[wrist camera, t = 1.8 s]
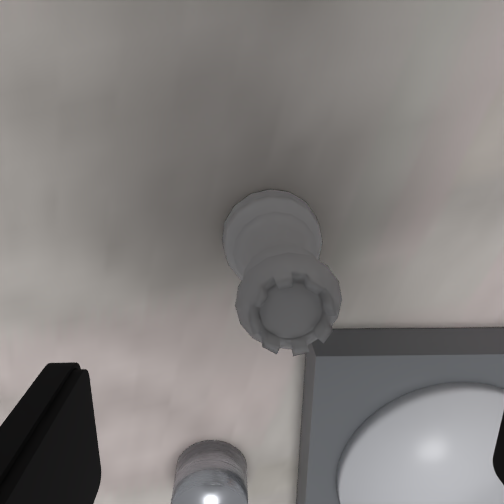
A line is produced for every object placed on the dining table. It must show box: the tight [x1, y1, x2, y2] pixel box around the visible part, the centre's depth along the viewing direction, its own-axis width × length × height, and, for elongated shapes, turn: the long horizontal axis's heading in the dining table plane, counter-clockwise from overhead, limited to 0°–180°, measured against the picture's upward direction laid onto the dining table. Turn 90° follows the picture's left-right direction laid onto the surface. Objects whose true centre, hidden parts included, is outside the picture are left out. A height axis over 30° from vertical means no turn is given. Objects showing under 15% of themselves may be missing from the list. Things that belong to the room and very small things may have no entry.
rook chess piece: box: [222, 189, 342, 356], centre depth 16 cm, size 4×4×8 cm
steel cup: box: [171, 440, 248, 504], centre depth 23 cm, size 4×4×3 cm
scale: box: [296, 328, 504, 504], centre depth 22 cm, size 15×14×3 cm
